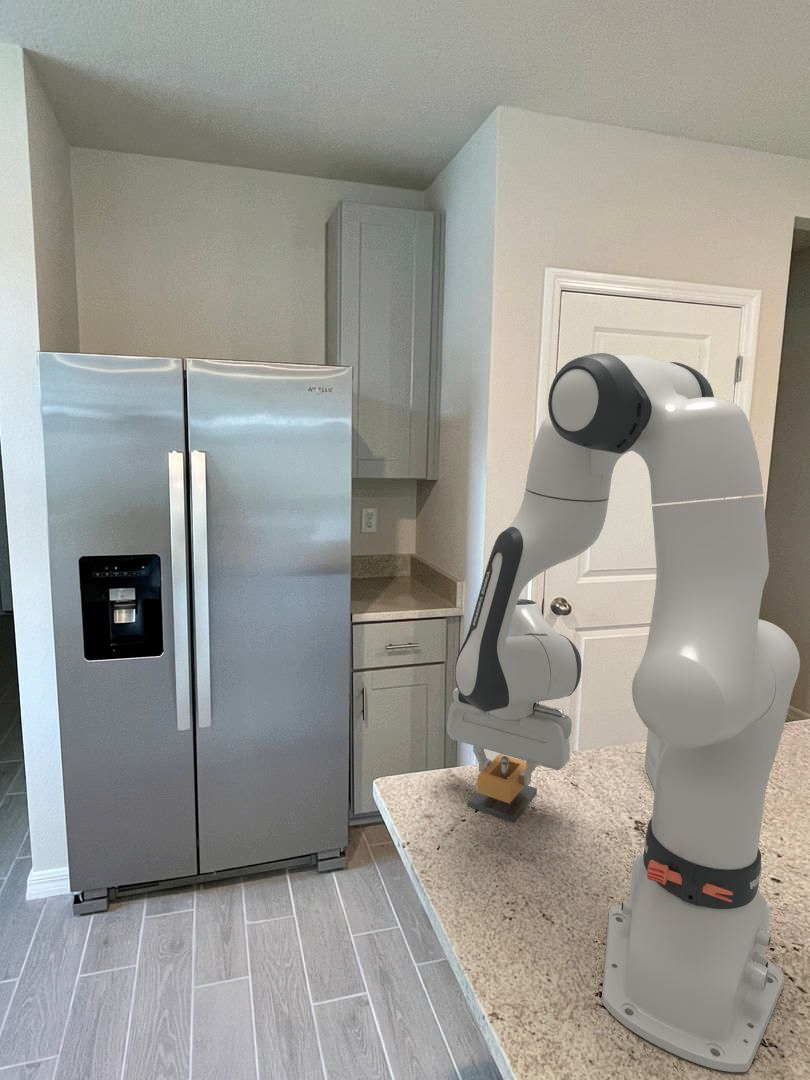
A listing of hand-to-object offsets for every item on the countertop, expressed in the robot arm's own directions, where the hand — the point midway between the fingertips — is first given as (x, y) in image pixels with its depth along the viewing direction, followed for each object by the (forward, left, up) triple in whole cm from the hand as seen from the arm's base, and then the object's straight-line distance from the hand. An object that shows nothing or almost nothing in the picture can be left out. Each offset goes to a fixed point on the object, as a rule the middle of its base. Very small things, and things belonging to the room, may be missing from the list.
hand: (504, 777), depth 105 cm
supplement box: (+23, -23, -4) cm, 33 cm away
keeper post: (0, 0, -4) cm, 4 cm away
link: (0, 0, -2) cm, 2 cm away
